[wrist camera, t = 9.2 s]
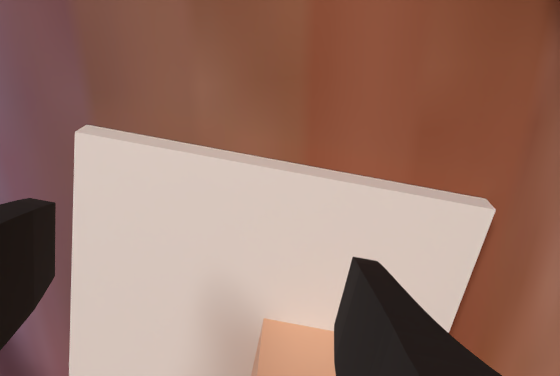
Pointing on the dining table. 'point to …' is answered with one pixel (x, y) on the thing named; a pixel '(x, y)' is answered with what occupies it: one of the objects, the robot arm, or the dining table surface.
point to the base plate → (239, 251)
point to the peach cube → (293, 350)
